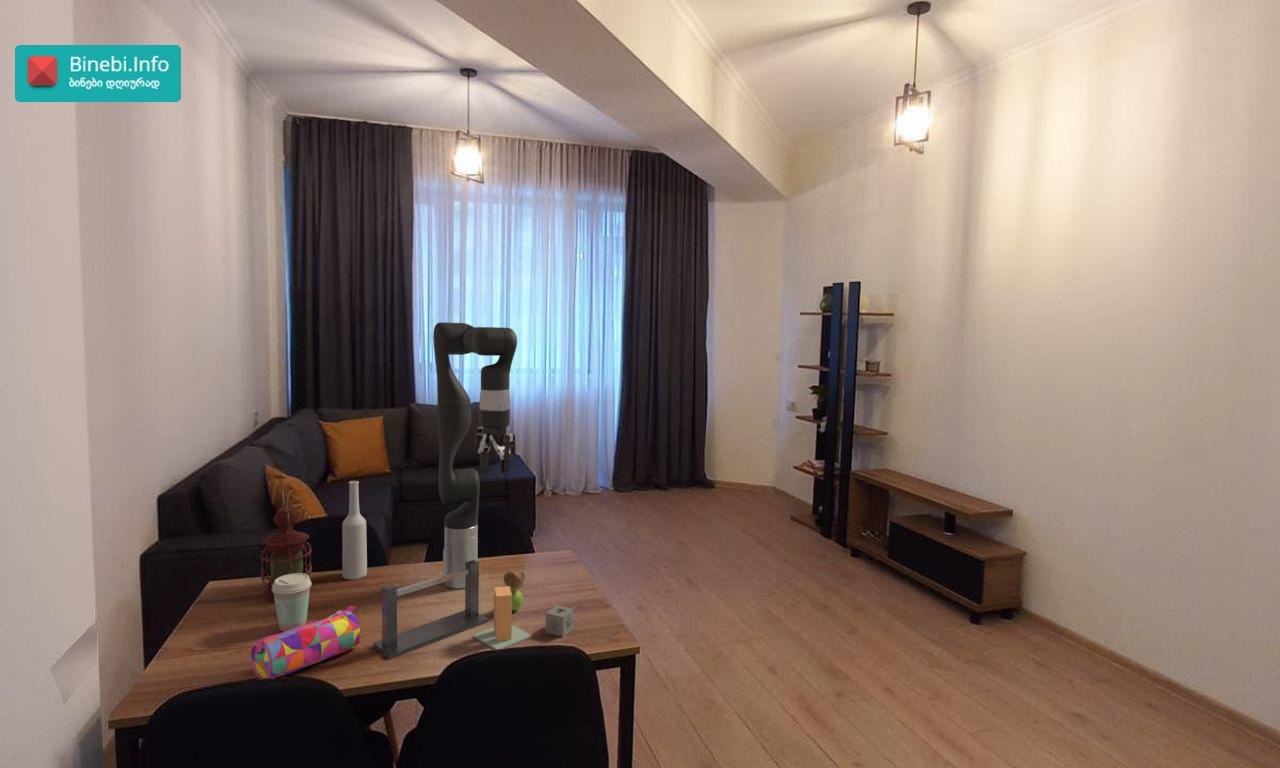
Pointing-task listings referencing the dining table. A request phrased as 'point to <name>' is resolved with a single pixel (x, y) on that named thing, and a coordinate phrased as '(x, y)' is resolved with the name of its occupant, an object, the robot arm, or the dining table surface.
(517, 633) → the felt mat
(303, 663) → the pencil case
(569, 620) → the dice cube
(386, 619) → the rail stand
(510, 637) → the c link
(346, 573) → the bottle
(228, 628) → the dining table surface
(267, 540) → the lantern
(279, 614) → the coffee cup
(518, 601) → the snail figurine
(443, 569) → the robot arm
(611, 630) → the dining table surface
